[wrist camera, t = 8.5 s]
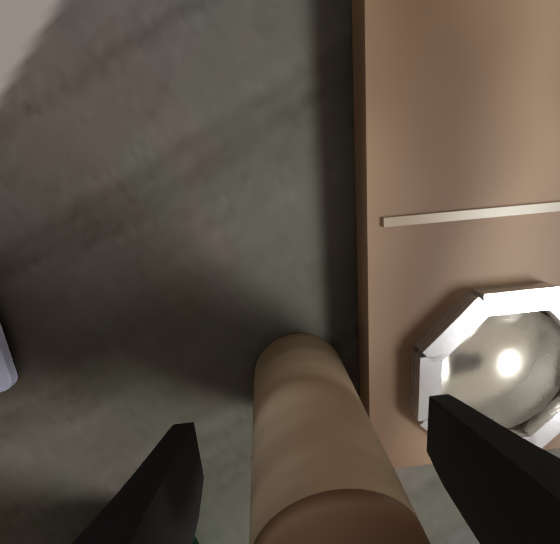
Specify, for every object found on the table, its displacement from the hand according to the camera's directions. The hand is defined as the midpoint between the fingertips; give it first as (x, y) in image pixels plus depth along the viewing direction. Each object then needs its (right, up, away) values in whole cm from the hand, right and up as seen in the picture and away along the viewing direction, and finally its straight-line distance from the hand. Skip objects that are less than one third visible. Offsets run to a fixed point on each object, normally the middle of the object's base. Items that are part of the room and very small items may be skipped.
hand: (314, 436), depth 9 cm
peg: (0, +1, +3) cm, 3 cm away
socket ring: (+7, +1, +2) cm, 8 cm away
